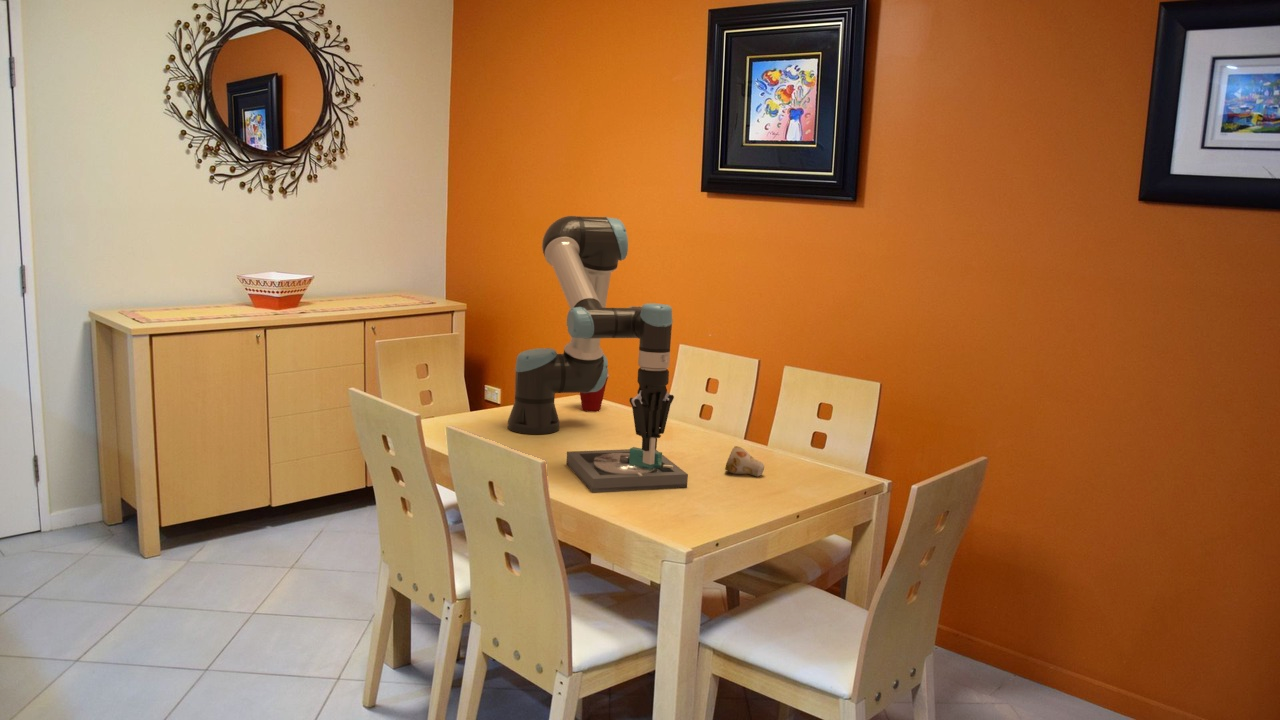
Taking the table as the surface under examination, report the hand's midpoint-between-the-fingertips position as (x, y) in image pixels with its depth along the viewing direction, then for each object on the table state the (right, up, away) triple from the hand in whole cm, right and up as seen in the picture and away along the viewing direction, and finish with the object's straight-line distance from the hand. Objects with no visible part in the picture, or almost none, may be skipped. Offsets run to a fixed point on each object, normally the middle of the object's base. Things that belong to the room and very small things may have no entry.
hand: (648, 463), depth 237 cm
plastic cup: (-18, +9, +77) cm, 80 cm away
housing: (-6, -4, +6) cm, 9 cm away
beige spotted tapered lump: (+25, -5, +14) cm, 29 cm away
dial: (-5, -3, +6) cm, 8 cm away
